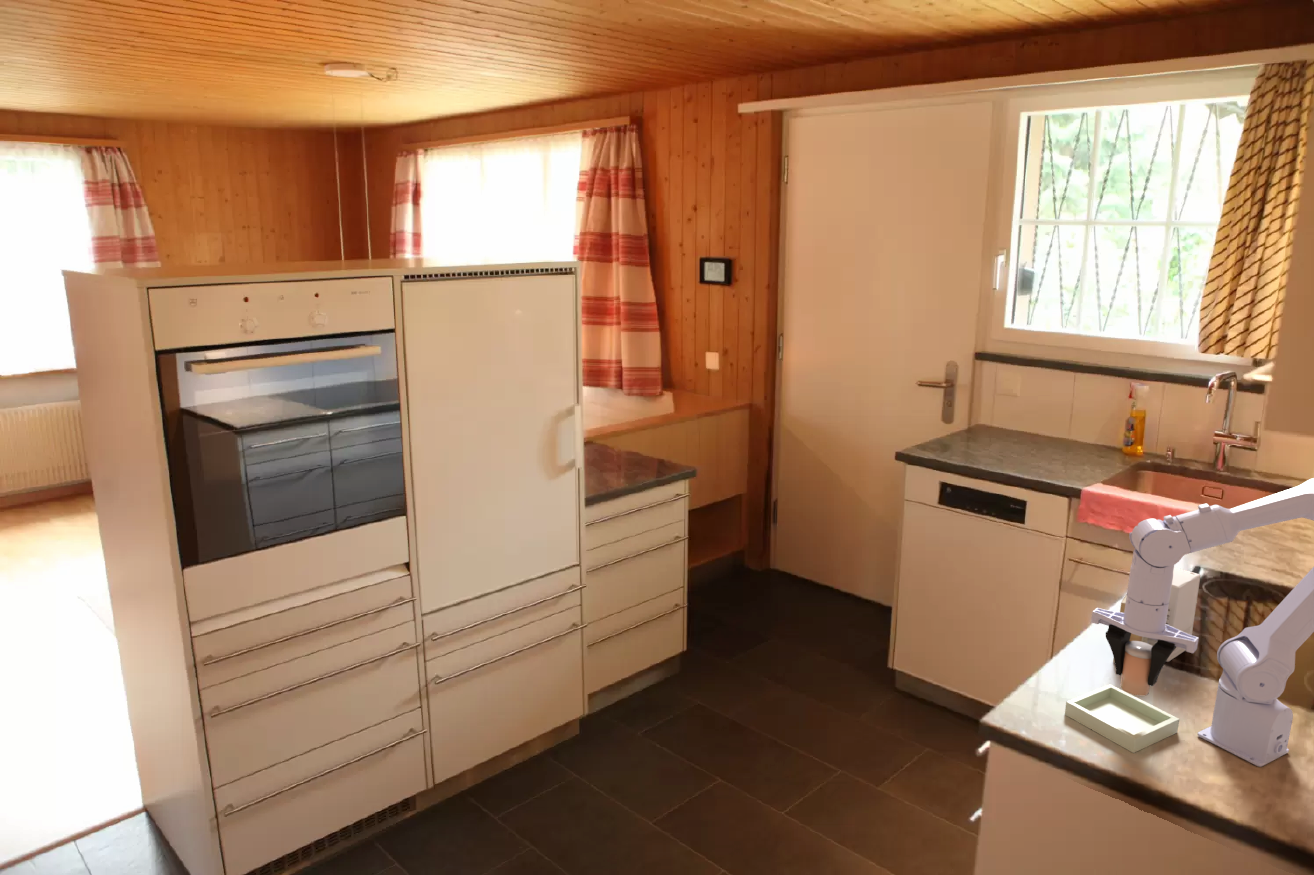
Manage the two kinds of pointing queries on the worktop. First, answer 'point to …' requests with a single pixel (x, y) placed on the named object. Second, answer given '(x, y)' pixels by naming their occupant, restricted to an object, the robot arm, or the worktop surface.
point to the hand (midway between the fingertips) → (1136, 677)
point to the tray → (1122, 717)
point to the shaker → (1136, 668)
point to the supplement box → (1181, 604)
